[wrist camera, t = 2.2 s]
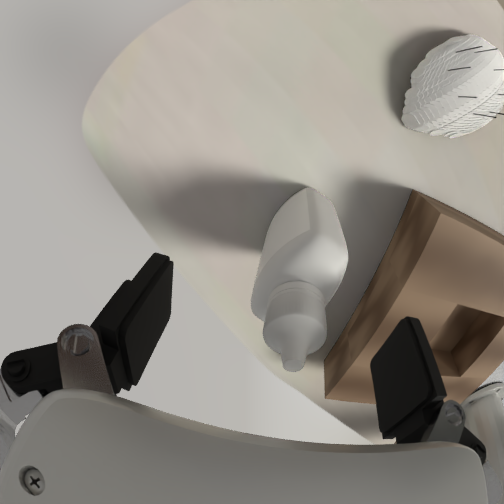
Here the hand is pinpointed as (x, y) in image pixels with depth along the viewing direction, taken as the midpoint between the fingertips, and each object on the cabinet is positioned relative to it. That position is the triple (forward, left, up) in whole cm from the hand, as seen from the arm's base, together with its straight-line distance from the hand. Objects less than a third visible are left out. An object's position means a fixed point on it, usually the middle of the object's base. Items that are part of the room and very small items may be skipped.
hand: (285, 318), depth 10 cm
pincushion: (+14, -9, -10) cm, 19 cm away
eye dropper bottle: (0, 0, -10) cm, 10 cm away
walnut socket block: (-4, -16, -10) cm, 20 cm away
